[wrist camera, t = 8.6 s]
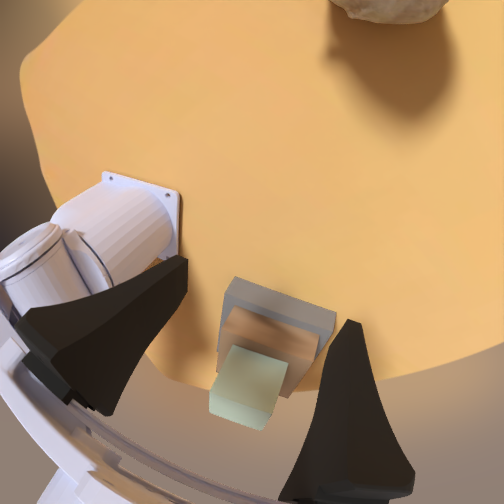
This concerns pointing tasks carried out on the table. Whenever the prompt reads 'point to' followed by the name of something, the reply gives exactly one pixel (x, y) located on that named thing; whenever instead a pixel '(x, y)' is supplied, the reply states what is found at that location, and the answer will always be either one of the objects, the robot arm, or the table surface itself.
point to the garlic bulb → (391, 10)
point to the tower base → (278, 309)
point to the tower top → (269, 343)
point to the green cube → (247, 387)
